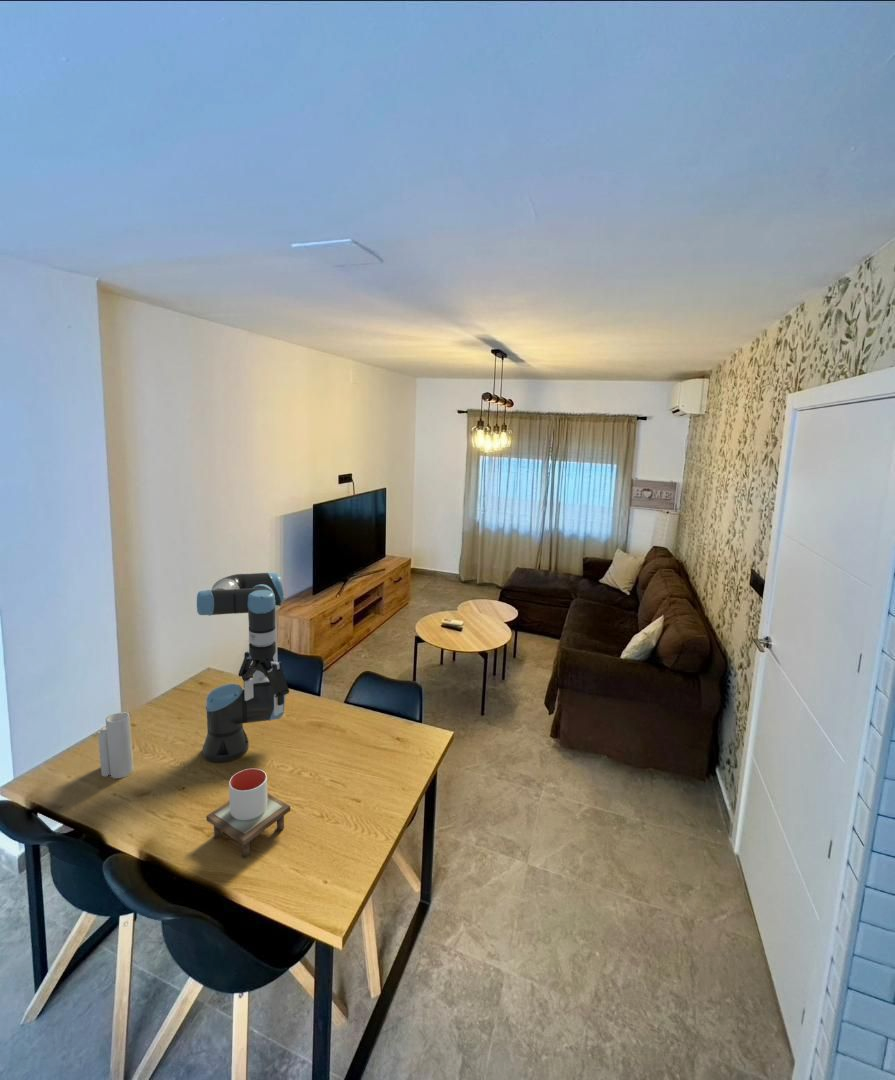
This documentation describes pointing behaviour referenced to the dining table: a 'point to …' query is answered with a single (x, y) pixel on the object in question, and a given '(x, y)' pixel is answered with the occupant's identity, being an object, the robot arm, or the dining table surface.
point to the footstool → (248, 822)
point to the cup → (248, 794)
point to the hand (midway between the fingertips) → (263, 706)
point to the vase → (116, 746)
